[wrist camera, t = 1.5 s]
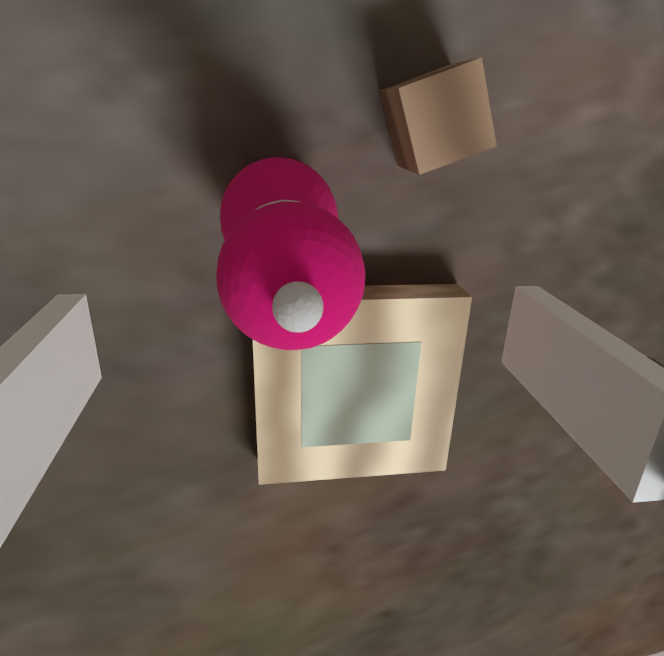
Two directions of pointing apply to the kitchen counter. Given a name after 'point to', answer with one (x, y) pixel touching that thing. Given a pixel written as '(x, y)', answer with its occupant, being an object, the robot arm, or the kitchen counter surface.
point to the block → (439, 116)
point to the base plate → (365, 390)
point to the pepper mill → (286, 257)
